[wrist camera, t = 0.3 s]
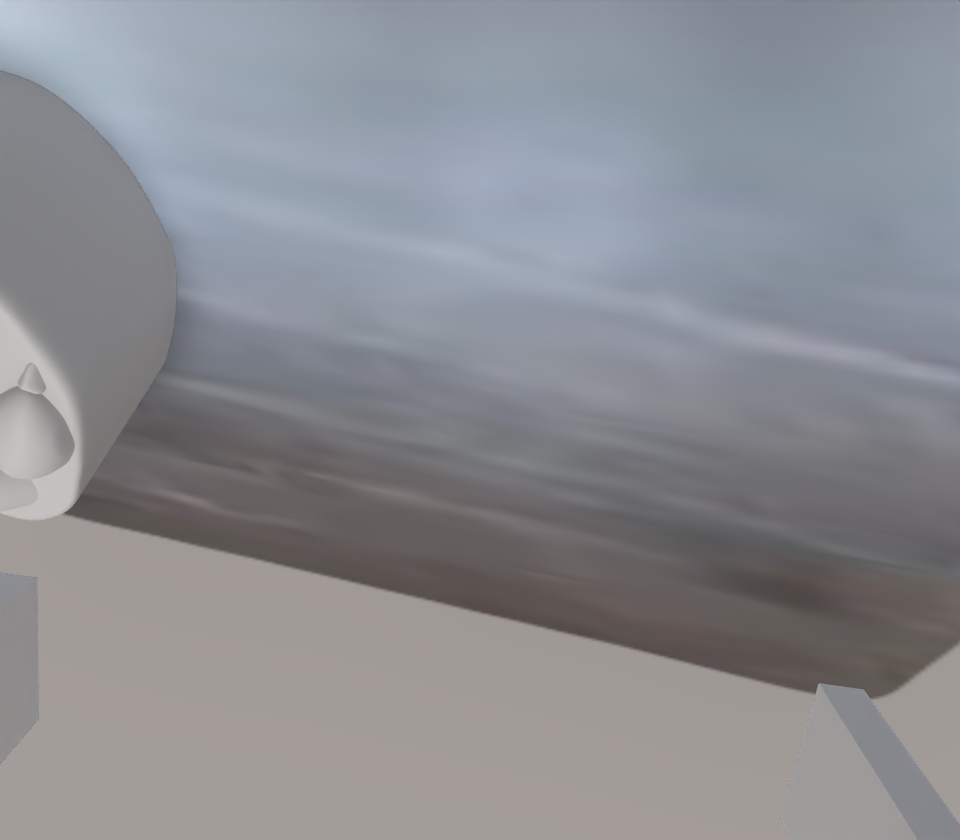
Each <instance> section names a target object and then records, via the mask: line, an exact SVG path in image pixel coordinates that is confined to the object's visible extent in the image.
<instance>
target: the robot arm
mask: <svg viewBox="0 0 960 840" xmlns="http://www.w3.org/2000/svg"><path fill="white" fill-rule="evenodd" d="M37 600H38V595H37V577H30V576H23V575H14V574H8V573H1V572H0V764H1V763H2V762H3V761H4V760H5V759H6V757H7V756H8V755H9V754H10V753H11V752H12V750H13V749H14V748H15V747H16V746H17V745H18V743H19V742H20V741H21V740H22V739H23V737H24V736H25V735H26V734H27V733H28V732H29V730H30V729H31V728H32V727H33V726H34V724H35V723H36V722H37V721H38V720H39V685H38V604H37V603H38V601H37ZM780 820H781V822H782V824H783V827H784V829H785V831H786V833H787V835H788V838H789V840H960V824H959V822H958V821H957V820H956V818H955V817H954V816H953V814H952V813H951V811H950V810H949V808H948V807H947V806H946V804H945V803H944V802H943V800H942V799H941V797H940V796H939V794H938V793H937V792H936V790H935V789H934V788H933V786H932V785H931V784H930V782H929V780H928V779H927V778H926V776H925V775H924V773H923V772H922V771H921V769H920V768H919V767H918V765H917V764H916V762H915V761H914V760H913V758H912V757H911V755H910V754H909V752H908V751H907V750H906V748H905V747H904V746H903V744H902V743H901V741H900V740H899V738H898V737H897V736H896V734H895V733H894V732H893V730H892V729H891V727H890V726H889V725H888V723H887V722H886V720H885V719H884V717H883V716H882V715H881V713H880V712H879V711H878V709H877V708H876V706H875V705H874V704H873V702H872V701H871V699H870V698H869V696H868V695H867V694H866V692H865V691H864V690H863V689H856V688H848V687H841V686H834V685H826V684H818V688H817V691H816V695H815V698H814V702H813V705H812V708H811V712H810V716H809V719H808V722H807V726H806V729H805V733H804V736H803V740H802V743H801V746H800V750H799V753H798V756H797V760H796V763H795V767H794V770H793V774H792V777H791V780H790V784H789V787H788V791H787V794H786V798H785V801H784V805H783V808H782V811H781V815H780Z"/></svg>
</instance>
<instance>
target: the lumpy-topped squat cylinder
mask: <svg viewBox="0 0 960 840" xmlns="http://www.w3.org/2000/svg"><path fill="white" fill-rule="evenodd" d="M176 303H177V271H176V262H175V257H174V253H173V250H172V247H171V244H170V242H169V239H168V237H167V235H166V233H165V231H164V229H163V227H162V224H161V222H160V220H159V218H158V217H157V215H156V213H155V211H154V209H153V207H152V205H151V203H150V201H149V200H148V198H147V196H146V194H145V193H144V191H143V189H142V187H141V186H140V184H139V183H138V181H137V179H136V178H135V176H134V175H133V173H132V172H131V170H130V169H129V167H128V166H127V165H126V163H125V162H124V161H123V160H122V158H121V157H120V156H119V155H118V154H117V152H116V151H115V150H114V149H113V148H112V147H111V146H110V144H109V143H108V142H107V141H106V140H105V139H104V138H103V137H102V136H101V135H100V134H99V133H98V132H97V131H96V130H95V128H94V127H93V126H91V125H90V124H89V123H88V122H87V121H86V120H85V119H84V118H83V117H82V116H81V115H80V114H79V113H78V112H76V111H75V110H74V109H73V108H72V107H71V106H69V105H68V104H67V103H66V102H64V101H63V100H62V99H60V98H59V97H57V96H56V95H55V94H53V93H51V92H50V91H48V90H47V89H45V88H43V87H41V86H39V85H37V84H35V83H33V82H31V81H29V80H27V79H24V78H22V77H19V76H16V75H13V74H10V73H7V72H2V71H0V513H2V514H5V515H8V516H11V517H15V518H19V519H25V520H42V519H48V518H51V517H55V516H58V515H60V514H62V513H64V512H66V511H67V510H69V509H70V508H71V507H72V506H73V505H74V504H75V502H76V501H77V499H78V498H79V497H80V495H81V493H82V492H83V490H84V489H85V487H86V485H87V484H88V482H89V481H90V479H91V478H92V476H93V474H94V473H95V471H96V470H97V468H98V467H99V465H100V464H101V462H102V460H103V459H104V457H105V456H106V454H107V453H108V451H109V450H110V448H111V446H112V445H113V443H114V442H115V440H116V439H117V437H118V436H119V434H120V433H121V431H122V429H123V428H124V426H125V425H126V423H127V422H128V420H129V418H130V417H131V415H132V414H133V412H134V411H135V409H136V407H137V406H138V404H139V403H140V401H141V400H142V398H143V397H144V395H145V393H146V392H147V390H148V389H149V387H150V386H151V384H152V382H153V381H154V379H155V378H156V376H157V375H158V373H159V372H160V370H161V368H162V367H163V365H164V363H165V360H166V358H167V354H168V350H169V346H170V342H171V338H172V334H173V329H174V323H175V315H176Z"/></svg>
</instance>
